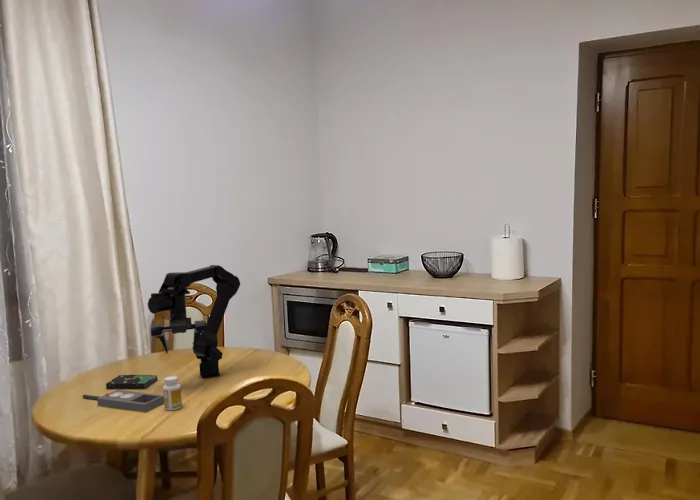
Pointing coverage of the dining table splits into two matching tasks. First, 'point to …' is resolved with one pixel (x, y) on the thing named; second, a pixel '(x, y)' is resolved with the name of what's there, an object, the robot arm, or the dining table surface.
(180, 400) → the supplement bottle
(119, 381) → the disk drive
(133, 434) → the dining table surface
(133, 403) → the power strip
